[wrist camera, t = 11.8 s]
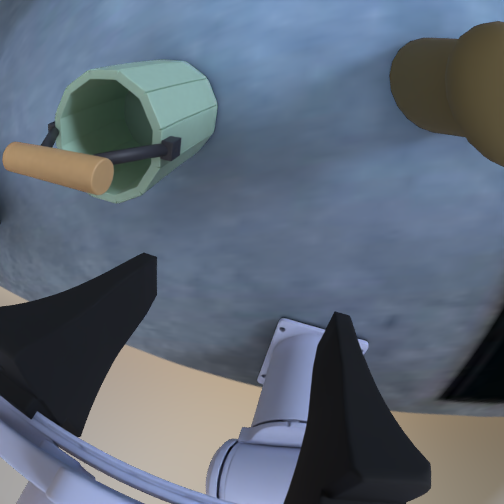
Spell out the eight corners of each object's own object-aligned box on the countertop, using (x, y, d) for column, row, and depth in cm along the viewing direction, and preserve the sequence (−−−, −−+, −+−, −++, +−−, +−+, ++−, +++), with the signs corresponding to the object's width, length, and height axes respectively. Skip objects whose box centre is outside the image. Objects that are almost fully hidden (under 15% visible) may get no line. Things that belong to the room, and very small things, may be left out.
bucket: (218, 170, 21) (123, 270, 12) (117, 148, 22) (3, 220, 13) (234, 67, 17) (118, 87, 8) (121, 57, 17) (-16, 90, 9)
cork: (375, 105, 16) (425, 135, 7) (407, 20, 13) (483, -35, 4) (458, 150, 16) (555, 228, 7) (490, 70, 13) (609, 85, 3)
